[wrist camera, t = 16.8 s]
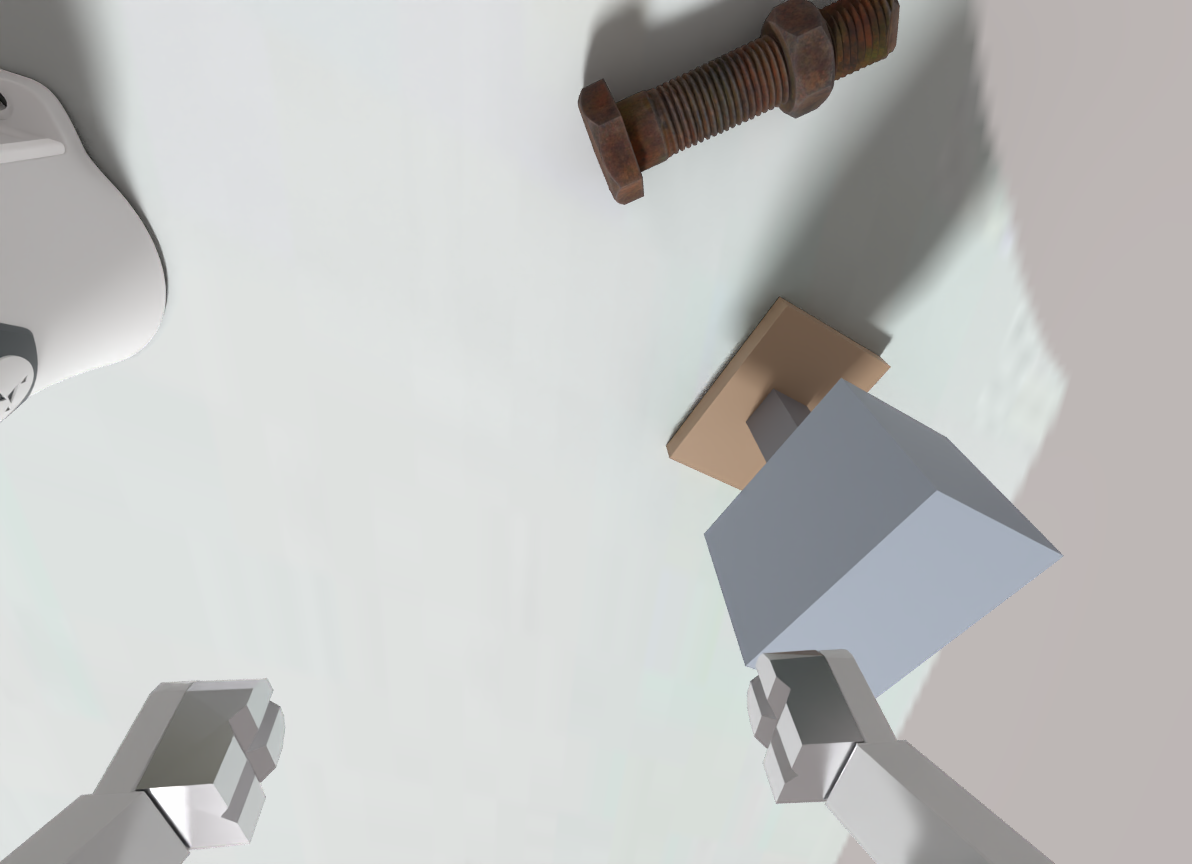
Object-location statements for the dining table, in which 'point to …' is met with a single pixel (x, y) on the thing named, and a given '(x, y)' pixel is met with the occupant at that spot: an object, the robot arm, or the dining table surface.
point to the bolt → (737, 86)
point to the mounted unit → (846, 508)
